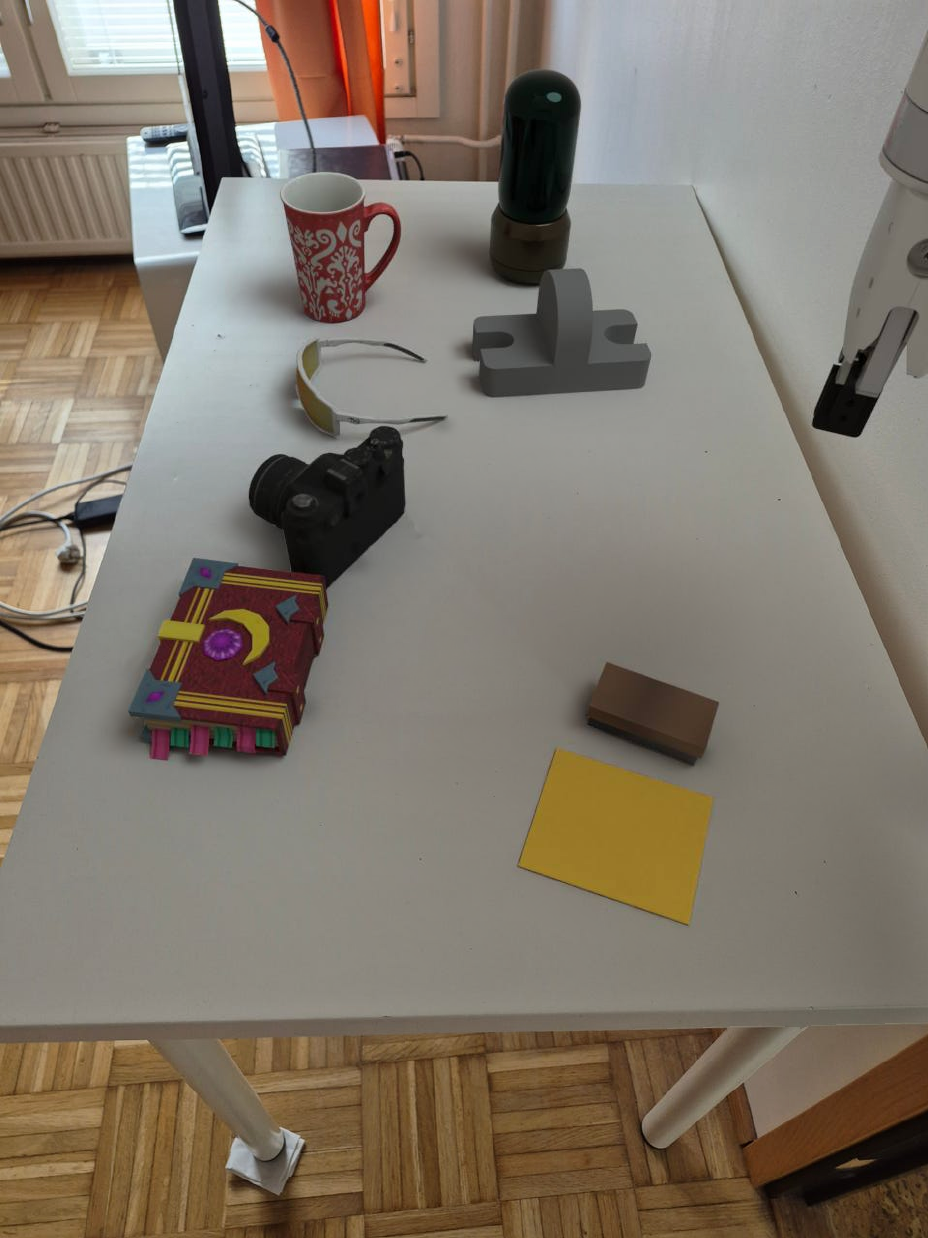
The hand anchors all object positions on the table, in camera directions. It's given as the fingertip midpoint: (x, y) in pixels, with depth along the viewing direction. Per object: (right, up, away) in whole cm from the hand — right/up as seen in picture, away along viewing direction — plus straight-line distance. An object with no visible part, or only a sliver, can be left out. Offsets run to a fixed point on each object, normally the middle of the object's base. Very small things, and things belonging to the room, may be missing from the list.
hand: (835, 425), depth 60 cm
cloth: (-14, -28, +4) cm, 32 cm away
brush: (-11, -21, +10) cm, 26 cm away
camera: (-38, -5, +22) cm, 44 cm away
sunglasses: (-35, +10, +34) cm, 50 cm away
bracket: (-15, +15, +39) cm, 44 cm away
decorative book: (-43, -18, +11) cm, 48 cm away
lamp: (-17, +31, +51) cm, 62 cm away
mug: (-39, +24, +44) cm, 63 cm away
